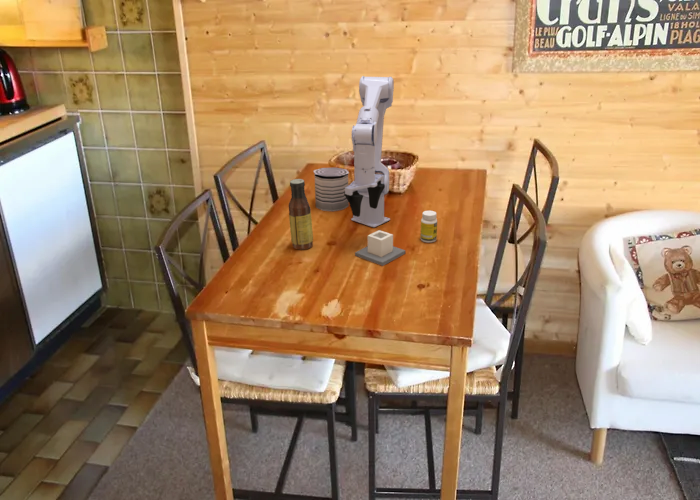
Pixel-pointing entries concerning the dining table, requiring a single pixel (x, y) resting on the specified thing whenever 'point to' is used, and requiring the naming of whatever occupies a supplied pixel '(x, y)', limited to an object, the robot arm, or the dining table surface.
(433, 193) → the dining table surface
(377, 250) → the box
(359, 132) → the robot arm
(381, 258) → the base plate
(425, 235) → the supplement bottle
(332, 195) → the can
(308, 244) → the sauce bottle
